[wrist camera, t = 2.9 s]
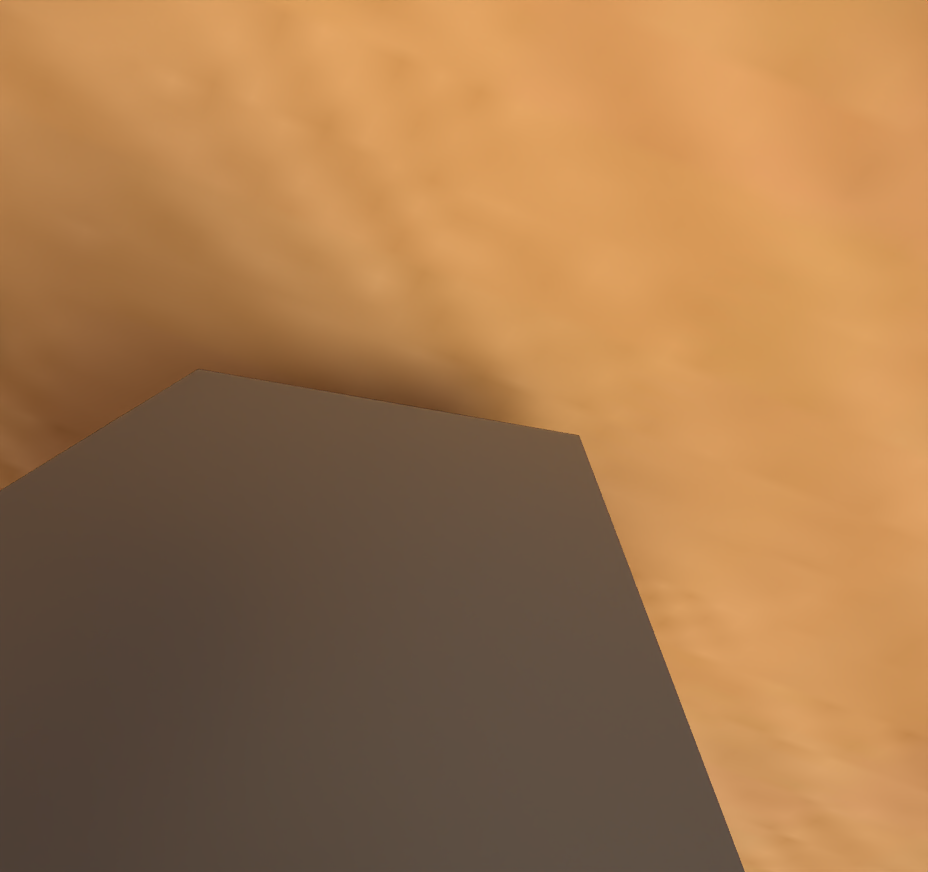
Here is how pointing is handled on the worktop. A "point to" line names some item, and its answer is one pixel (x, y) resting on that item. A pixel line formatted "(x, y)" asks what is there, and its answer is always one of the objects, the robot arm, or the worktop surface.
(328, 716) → the matte grey cube
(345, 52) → the worktop surface
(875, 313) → the worktop surface
